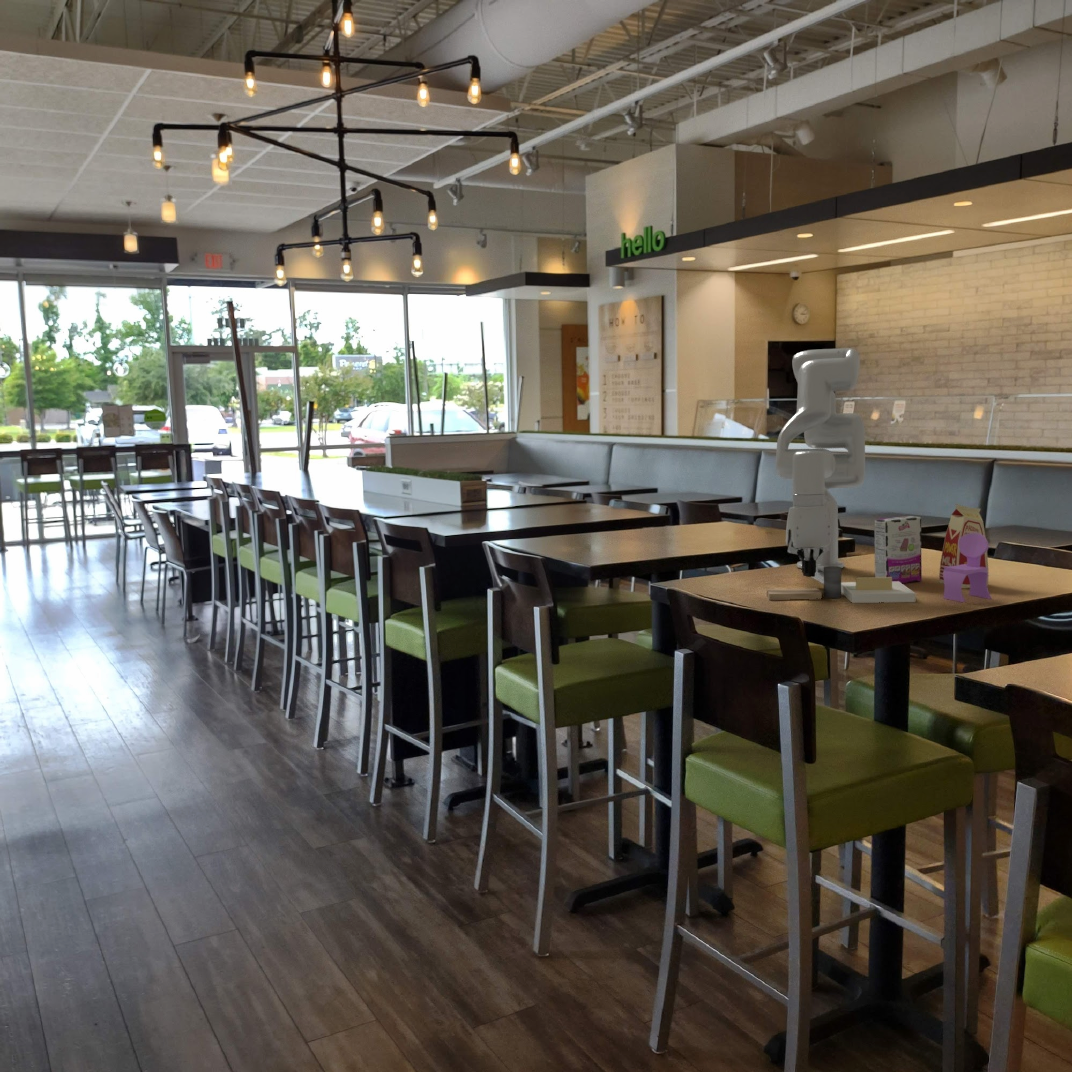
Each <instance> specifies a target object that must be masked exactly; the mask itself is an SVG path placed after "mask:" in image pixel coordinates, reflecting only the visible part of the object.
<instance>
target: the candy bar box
mask: <svg viewBox="0 0 1072 1072" xmlns="http://www.w3.org/2000/svg"><path fill="white" fill-rule="evenodd" d="M873 523H874V524H873V529H874V531H873V532H874V533H873V534H874V538H873V539H874V577H892V581H899V582H900V583H903V584H909V583H910V584H911V583H916V582H917V583H919V582H922V580H923V579H922V576H923V575H922V571H923V570H922V517H921V516H916V515H915V516H914V515H907V516H906V515H905V516H895V517H888V518H879V519H878V518H877V519H873Z"/></svg>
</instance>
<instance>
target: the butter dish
mask: <svg viewBox="0 0 1072 1072" xmlns="http://www.w3.org/2000/svg"><path fill="white" fill-rule="evenodd" d="M841 594H842V595H843V596H844V597H846V598H847V600H848V601H849V602H852V604H861V603H862V604H866V603H867V604H869V603H872V604H874V603H877V604H878V603H879V602H880V603H881V602H884V603H916V592H914V591H913V590H912V589H910V588H908V587H907V586H906V585H905V584H904V583H903V584H902V583H900V582H899V581H892V577H875V576H872V577H871V576H869V577H855V581H850V582H849V581H848V582H847V581H846V582H842V581H841ZM881 604H882V603H881Z"/></svg>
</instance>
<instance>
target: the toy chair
mask: <svg viewBox="0 0 1072 1072" xmlns="http://www.w3.org/2000/svg"><path fill="white" fill-rule="evenodd" d="M985 537H986V536H985ZM985 537H984V536H983V535H982V534H979V533H969V534H966V535H964V536H962V537H961V538H960V539H959V543H958V544H959V549H960V553H962V554H963V555H964V556H966V557H967V564H962V565H957V566H947V567H944V572H943V578H944V584H943V585H944V591H943V597H942V599H943V600H947V599H949V600H948V601H952V600H955V601H954V602H957V601H960V602H959V603H962V602H966V600H965V598H964V595H963V592H962V591H963V590H962V588H961V586H962V583H963V581H964V579H965V577H966V576H967V575H968V577H969V580H970V588H969V591H968V595H969V596H972V595H973V597H978V598H983V599H989V600H992V599H993V598H992V596H991V594H990V592H989V589H988V586H987V578H988V579H989V571H988V572H987V567H980V560H981V555H983V554H984V553H985V552H986V551H987V552H988V550H989V541H988V540H987V538H985Z"/></svg>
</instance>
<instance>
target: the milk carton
mask: <svg viewBox="0 0 1072 1072" xmlns="http://www.w3.org/2000/svg"><path fill="white" fill-rule="evenodd" d="M954 506H955V510H954V511H953V512H952V513H951V516H950V519H949V523H948V525H947V526H948V527H947V529H946V533H945V536H944V541H943V547H942V551H941V558H940V564H939V575H938V583H939V584H943V585H944V578H943V572H944V567H947V566H957V565H962V564H967V557H966V556H964V555H963V554H962V553H960V549H959V544H958V543H959V539H960V538H961V537H962V536H964V535H966V534H969V533H979V534H982V535H983V536H984V537H985V538H986V532H985V531H986V530H985V526H984V521H983V518H982V515H981V514H980V511H981V510H982V508H978V507H976V508H975V507H967V506H965V505H961V504H958V503H955V505H954ZM986 539H987V538H986ZM980 567H987V572H988V573H989V561H988V550H987V551H986V552H985V553H984V554H983V555H981V560H980ZM989 583H990V582H989V577H988V578H987V587H988V586H989ZM961 589H970V580H969V577H968V575H967V576H966V577H965V579H964V581H963V583H962V586H961Z"/></svg>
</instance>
